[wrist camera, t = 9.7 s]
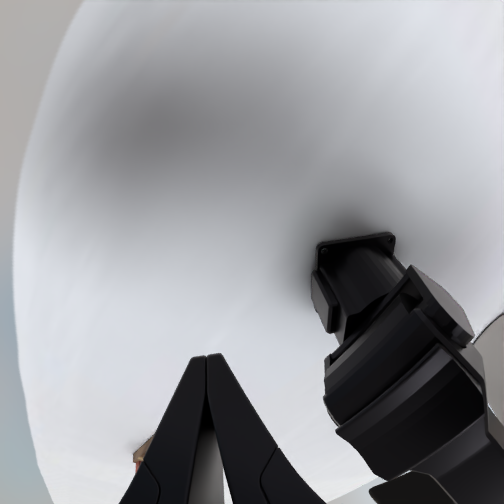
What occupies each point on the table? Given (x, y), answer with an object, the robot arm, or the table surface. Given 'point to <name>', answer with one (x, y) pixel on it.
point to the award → (410, 490)
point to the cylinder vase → (494, 365)
